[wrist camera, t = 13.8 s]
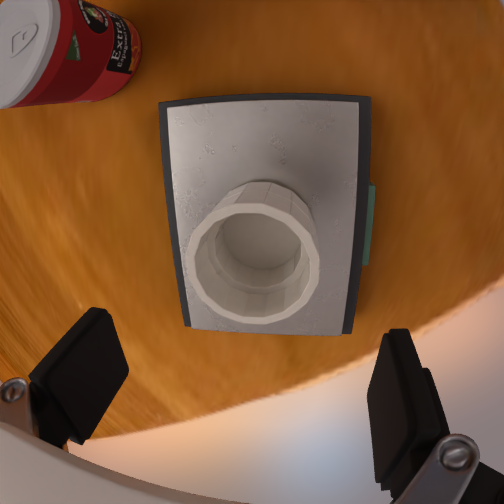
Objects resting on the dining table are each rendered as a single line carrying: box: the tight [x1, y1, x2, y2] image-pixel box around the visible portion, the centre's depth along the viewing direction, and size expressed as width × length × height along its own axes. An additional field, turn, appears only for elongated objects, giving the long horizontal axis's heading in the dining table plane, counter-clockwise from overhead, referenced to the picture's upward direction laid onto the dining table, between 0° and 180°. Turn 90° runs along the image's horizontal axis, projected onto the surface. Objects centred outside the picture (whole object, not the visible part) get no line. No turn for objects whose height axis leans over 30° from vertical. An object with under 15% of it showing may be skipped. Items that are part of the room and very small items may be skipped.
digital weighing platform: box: [167, 100, 359, 336], centre depth 21 cm, size 12×17×1 cm
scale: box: [158, 93, 376, 334], centre depth 23 cm, size 15×18×2 cm
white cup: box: [186, 182, 320, 325], centre depth 18 cm, size 7×7×6 cm
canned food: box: [0, 0, 142, 109], centre depth 15 cm, size 8×8×11 cm
